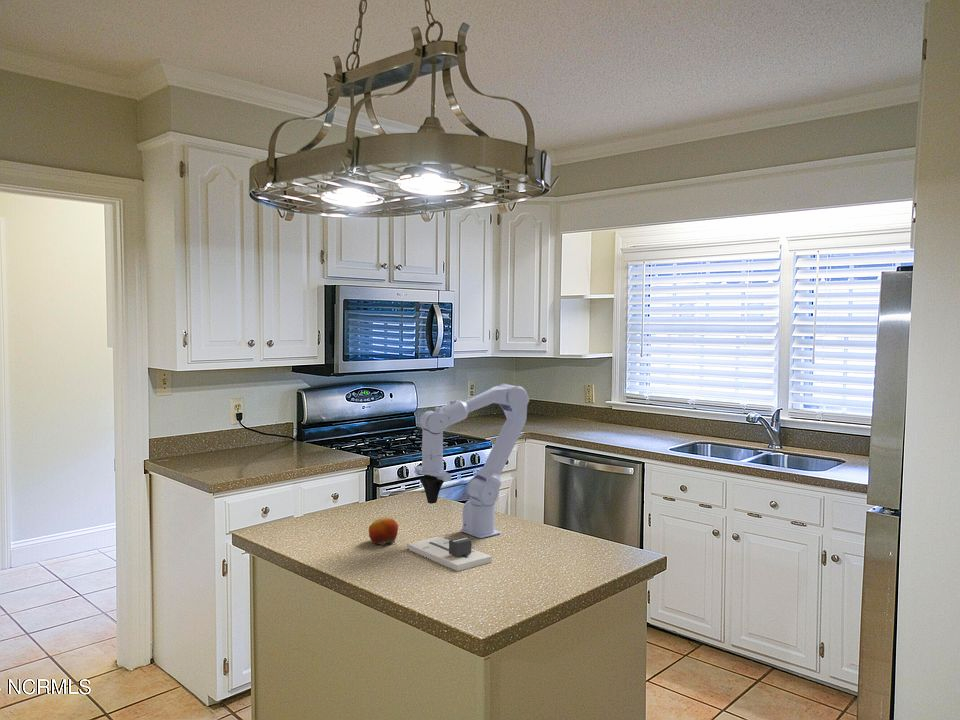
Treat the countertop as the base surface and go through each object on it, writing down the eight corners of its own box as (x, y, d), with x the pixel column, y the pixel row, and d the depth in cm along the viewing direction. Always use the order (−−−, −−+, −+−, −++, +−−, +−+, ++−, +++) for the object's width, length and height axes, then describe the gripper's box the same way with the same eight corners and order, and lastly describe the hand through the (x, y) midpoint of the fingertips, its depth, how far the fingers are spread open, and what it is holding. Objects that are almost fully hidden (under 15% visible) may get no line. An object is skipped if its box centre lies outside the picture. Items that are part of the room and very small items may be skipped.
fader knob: (448, 553, 186) (449, 539, 186) (462, 550, 189) (462, 536, 189) (457, 557, 184) (457, 542, 183) (471, 553, 186) (471, 539, 186)
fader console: (406, 549, 195) (406, 543, 195) (439, 541, 202) (439, 536, 202) (457, 571, 178) (457, 564, 178) (491, 562, 185) (491, 555, 185)
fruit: (383, 545, 194) (375, 516, 197) (369, 553, 199) (361, 525, 202) (408, 539, 199) (399, 511, 202) (394, 548, 205) (385, 521, 207)
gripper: (405, 452, 206) (405, 499, 207) (436, 459, 195) (436, 510, 196) (426, 449, 211) (425, 496, 211) (457, 457, 199) (456, 506, 200)
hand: (432, 502), depth 204 cm, fingers closed
